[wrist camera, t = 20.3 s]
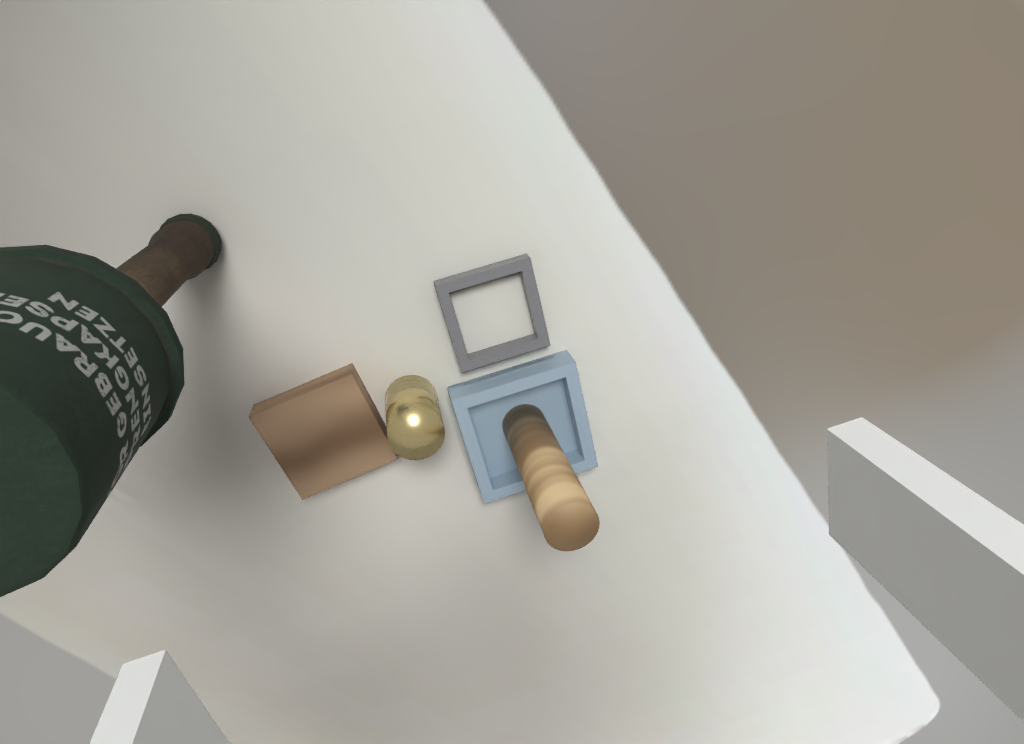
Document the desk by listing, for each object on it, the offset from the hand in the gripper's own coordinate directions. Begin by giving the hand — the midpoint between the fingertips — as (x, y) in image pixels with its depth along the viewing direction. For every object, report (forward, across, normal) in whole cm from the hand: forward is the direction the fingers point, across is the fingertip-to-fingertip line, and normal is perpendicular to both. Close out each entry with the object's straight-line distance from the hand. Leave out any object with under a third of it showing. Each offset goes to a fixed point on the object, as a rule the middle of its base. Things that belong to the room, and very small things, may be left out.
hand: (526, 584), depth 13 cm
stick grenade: (+37, -14, +3) cm, 40 cm away
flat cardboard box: (+37, -11, -13) cm, 41 cm away
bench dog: (+37, -4, -13) cm, 39 cm away
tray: (+37, +4, -18) cm, 41 cm away
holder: (+37, +4, -8) cm, 38 cm away
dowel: (+36, +4, -18) cm, 41 cm away
